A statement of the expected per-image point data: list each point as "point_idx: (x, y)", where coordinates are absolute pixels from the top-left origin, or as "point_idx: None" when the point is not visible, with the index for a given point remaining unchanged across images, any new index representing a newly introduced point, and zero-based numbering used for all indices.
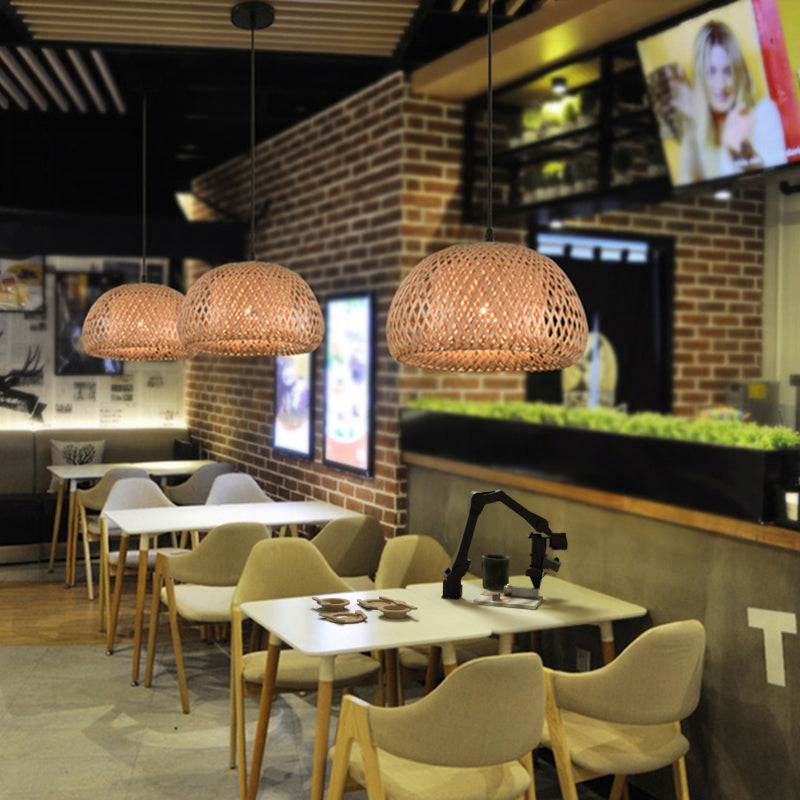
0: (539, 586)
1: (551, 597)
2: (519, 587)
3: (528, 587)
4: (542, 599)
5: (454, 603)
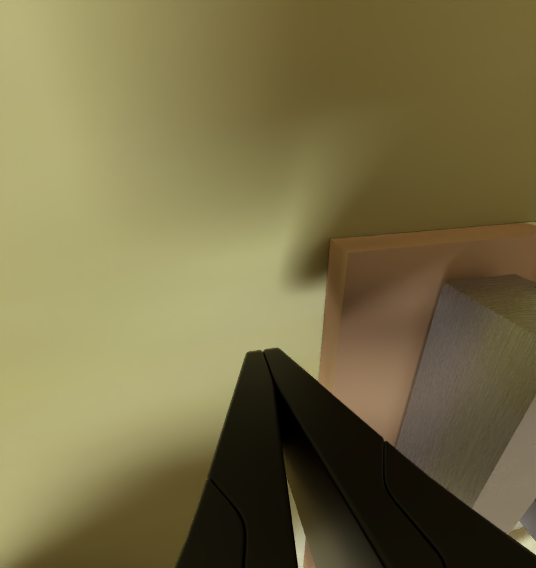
0: (344, 407)
1: (114, 159)
2: (501, 521)
3: (495, 473)
4: (364, 238)
5: (518, 536)
